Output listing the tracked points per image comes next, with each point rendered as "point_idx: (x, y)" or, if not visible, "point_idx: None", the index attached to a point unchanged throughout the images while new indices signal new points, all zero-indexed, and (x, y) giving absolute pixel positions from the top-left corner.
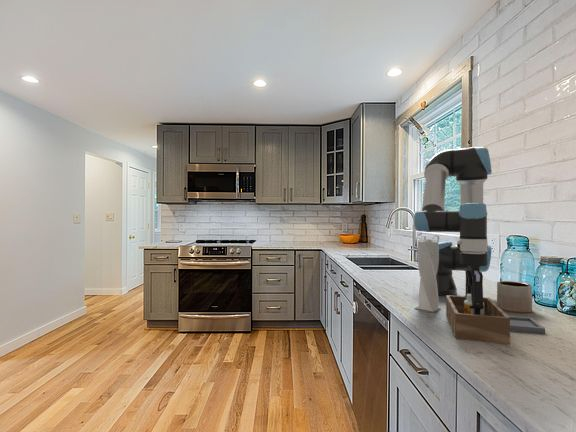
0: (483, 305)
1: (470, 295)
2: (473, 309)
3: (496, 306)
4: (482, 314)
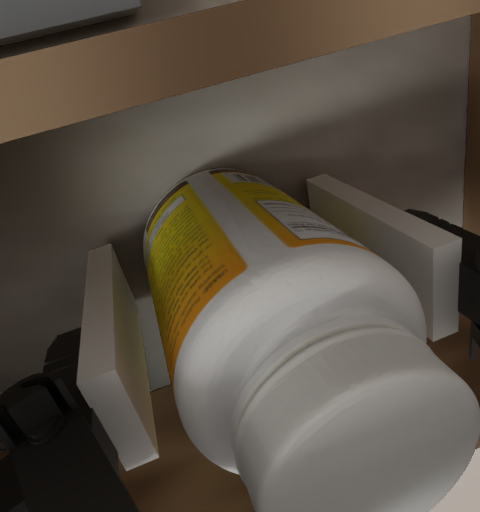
0: (360, 248)
1: (440, 489)
2: (448, 309)
3: (199, 56)
4: (319, 216)
